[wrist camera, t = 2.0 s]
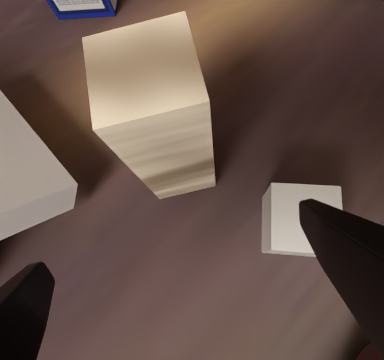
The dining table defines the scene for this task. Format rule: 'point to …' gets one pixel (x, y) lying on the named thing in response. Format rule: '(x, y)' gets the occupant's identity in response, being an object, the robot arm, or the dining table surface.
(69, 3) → the milk carton
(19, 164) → the pizza boxes
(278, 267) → the dining table surface
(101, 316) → the dining table surface
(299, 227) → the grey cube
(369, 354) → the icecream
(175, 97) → the birch block
